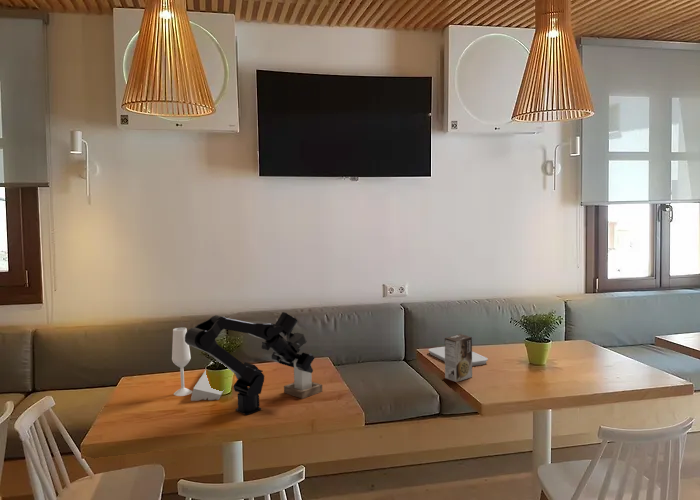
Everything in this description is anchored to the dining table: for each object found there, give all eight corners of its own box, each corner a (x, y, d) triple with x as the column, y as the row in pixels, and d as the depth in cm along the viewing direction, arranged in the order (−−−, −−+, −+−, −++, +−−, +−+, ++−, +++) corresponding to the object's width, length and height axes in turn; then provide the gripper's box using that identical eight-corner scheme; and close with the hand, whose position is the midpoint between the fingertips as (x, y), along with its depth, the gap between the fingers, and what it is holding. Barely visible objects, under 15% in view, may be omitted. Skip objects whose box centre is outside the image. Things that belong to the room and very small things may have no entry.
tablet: (457, 369, 231) (457, 364, 231) (425, 353, 255) (425, 349, 255) (490, 364, 237) (490, 359, 237) (456, 349, 261) (456, 344, 261)
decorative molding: (233, 377, 236) (209, 371, 235) (235, 366, 235) (212, 360, 234) (217, 407, 202) (190, 401, 201) (221, 394, 201) (193, 388, 201)
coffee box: (460, 373, 225) (460, 333, 223) (472, 377, 220) (472, 336, 218) (444, 378, 220) (443, 337, 218) (456, 382, 214) (456, 340, 213)
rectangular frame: (302, 398, 200) (302, 392, 200) (284, 392, 207) (283, 386, 207) (322, 391, 208) (322, 384, 207) (304, 385, 214) (303, 379, 214)
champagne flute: (172, 396, 205) (169, 331, 203) (174, 390, 212) (171, 327, 210) (191, 395, 207) (188, 330, 204) (193, 389, 213) (190, 326, 211)
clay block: (302, 395, 204) (301, 361, 203) (294, 392, 207) (293, 358, 206) (311, 391, 207) (311, 358, 206) (304, 389, 210) (303, 356, 209)
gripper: (309, 331, 196) (333, 356, 204) (276, 323, 209) (301, 346, 218) (292, 358, 191) (317, 382, 200) (260, 348, 204) (285, 371, 213)
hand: (305, 369), depth 208 cm, fingers open, 7 cm apart
